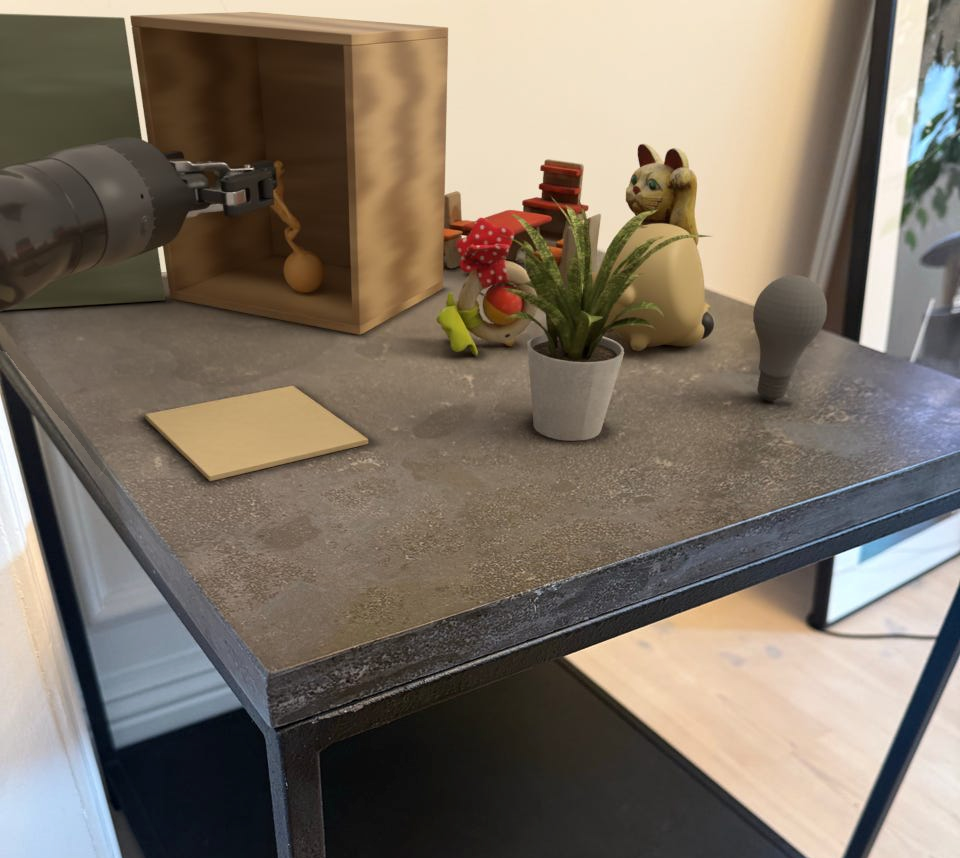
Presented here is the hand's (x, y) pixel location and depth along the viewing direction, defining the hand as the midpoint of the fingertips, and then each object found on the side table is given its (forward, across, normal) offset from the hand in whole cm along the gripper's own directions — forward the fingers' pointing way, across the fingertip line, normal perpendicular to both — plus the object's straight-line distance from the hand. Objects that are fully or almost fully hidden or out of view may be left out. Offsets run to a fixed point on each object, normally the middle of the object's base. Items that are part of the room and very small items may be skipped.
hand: (225, 169), depth 79 cm
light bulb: (+4, -47, +14) cm, 50 cm away
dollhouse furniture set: (+36, -16, +14) cm, 42 cm away
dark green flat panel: (0, +22, +13) cm, 25 cm away
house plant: (-8, -34, +14) cm, 38 cm away
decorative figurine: (+28, -33, +14) cm, 46 cm away
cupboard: (+14, 0, +14) cm, 19 cm away
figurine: (+11, 0, +13) cm, 17 cm away
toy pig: (+14, -35, +14) cm, 40 cm away
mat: (-19, -12, +14) cm, 27 cm away
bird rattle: (+6, -22, +14) cm, 26 cm away
